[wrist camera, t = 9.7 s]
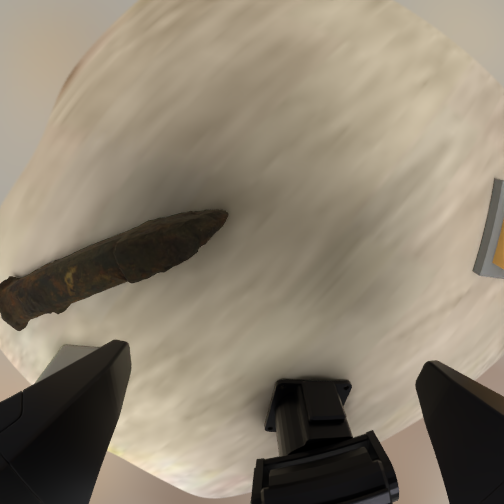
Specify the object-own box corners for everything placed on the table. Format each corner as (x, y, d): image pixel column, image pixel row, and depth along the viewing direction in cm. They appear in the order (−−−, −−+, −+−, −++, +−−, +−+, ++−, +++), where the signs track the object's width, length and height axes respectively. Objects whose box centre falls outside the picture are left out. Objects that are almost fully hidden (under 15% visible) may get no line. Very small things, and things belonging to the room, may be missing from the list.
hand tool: (34, 314, 21) (6, 342, 17) (13, 273, 20) (-19, 296, 15) (241, 250, 20) (241, 280, 15) (221, 191, 18) (215, 204, 14)
